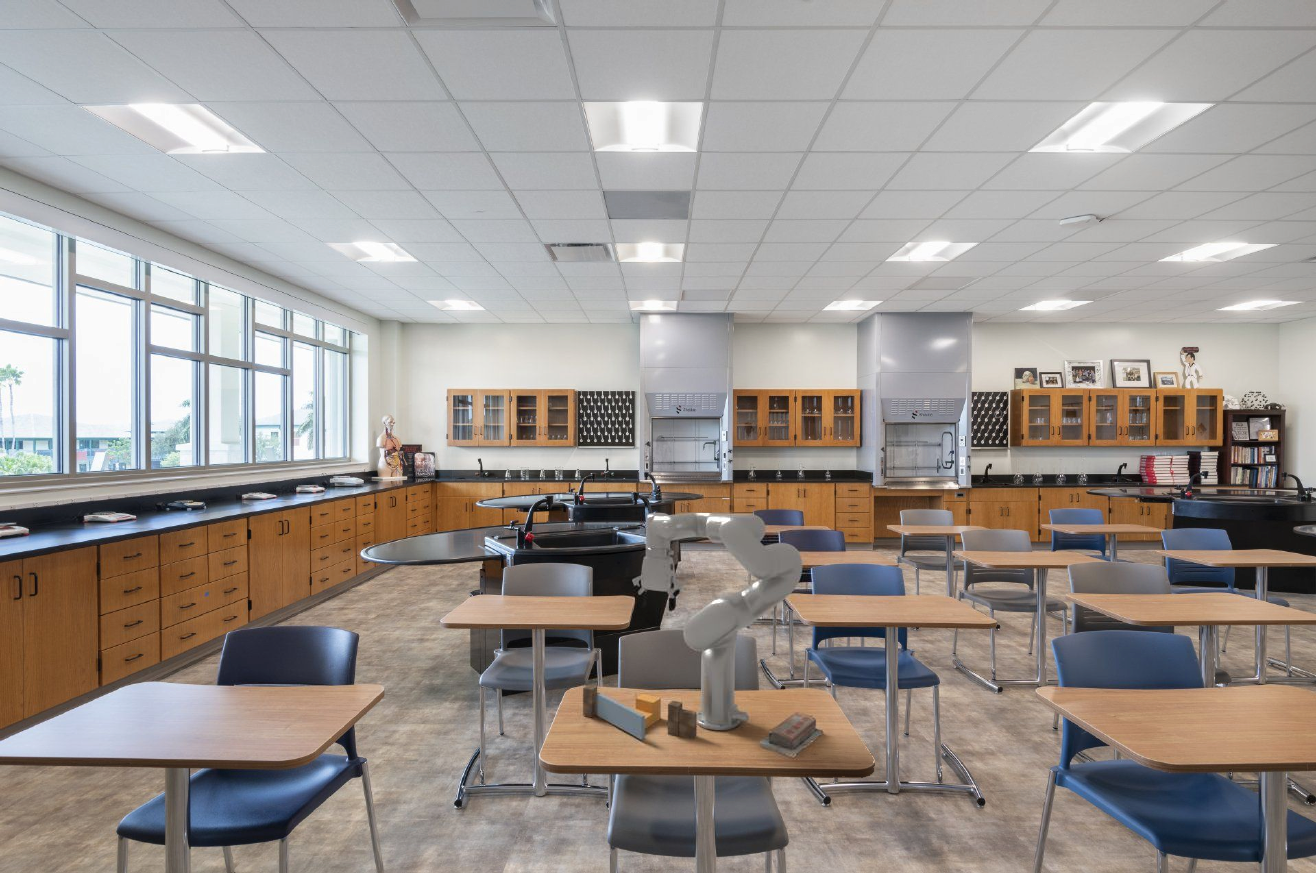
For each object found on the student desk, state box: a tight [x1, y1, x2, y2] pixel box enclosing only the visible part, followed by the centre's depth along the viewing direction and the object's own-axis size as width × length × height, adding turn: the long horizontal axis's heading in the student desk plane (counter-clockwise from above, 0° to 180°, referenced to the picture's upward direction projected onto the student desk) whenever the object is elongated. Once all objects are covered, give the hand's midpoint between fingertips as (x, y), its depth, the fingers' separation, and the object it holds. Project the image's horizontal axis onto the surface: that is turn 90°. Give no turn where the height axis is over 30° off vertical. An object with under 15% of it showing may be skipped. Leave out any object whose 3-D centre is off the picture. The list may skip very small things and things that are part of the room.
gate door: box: [595, 692, 646, 741], centre depth 176 cm, size 21×1×6 cm, turn 41°
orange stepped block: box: [634, 693, 662, 730], centre depth 179 cm, size 11×6×6 cm, turn 148°
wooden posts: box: [582, 684, 698, 739], centre depth 178 cm, size 35×3×8 cm, turn 64°
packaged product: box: [759, 712, 824, 756], centre depth 169 cm, size 18×5×10 cm
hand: (657, 608), depth 195 cm, fingers open, 9 cm apart
